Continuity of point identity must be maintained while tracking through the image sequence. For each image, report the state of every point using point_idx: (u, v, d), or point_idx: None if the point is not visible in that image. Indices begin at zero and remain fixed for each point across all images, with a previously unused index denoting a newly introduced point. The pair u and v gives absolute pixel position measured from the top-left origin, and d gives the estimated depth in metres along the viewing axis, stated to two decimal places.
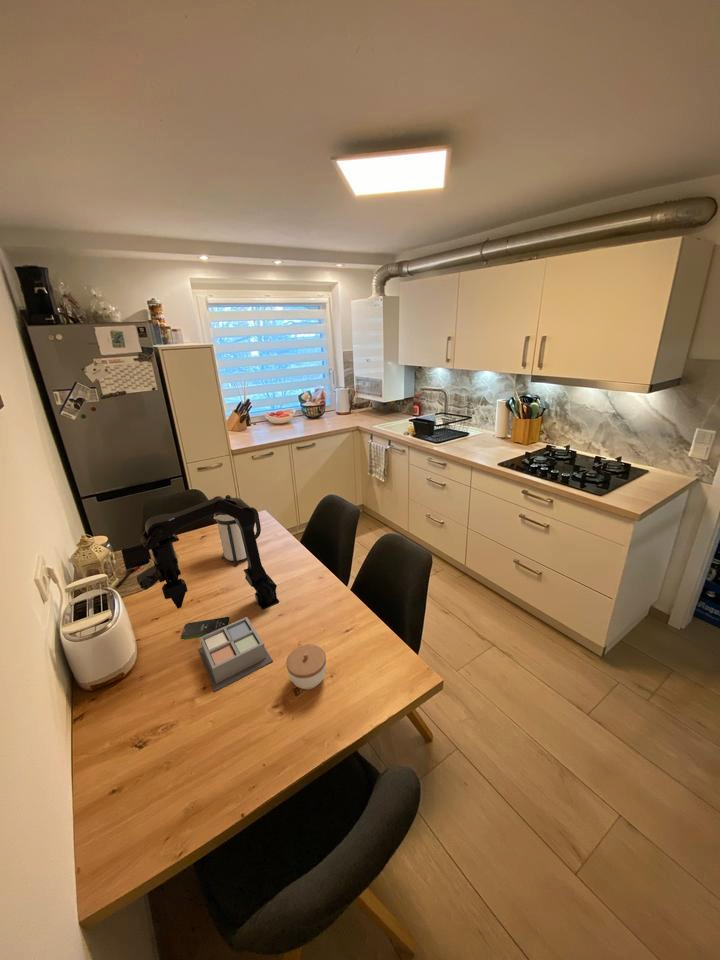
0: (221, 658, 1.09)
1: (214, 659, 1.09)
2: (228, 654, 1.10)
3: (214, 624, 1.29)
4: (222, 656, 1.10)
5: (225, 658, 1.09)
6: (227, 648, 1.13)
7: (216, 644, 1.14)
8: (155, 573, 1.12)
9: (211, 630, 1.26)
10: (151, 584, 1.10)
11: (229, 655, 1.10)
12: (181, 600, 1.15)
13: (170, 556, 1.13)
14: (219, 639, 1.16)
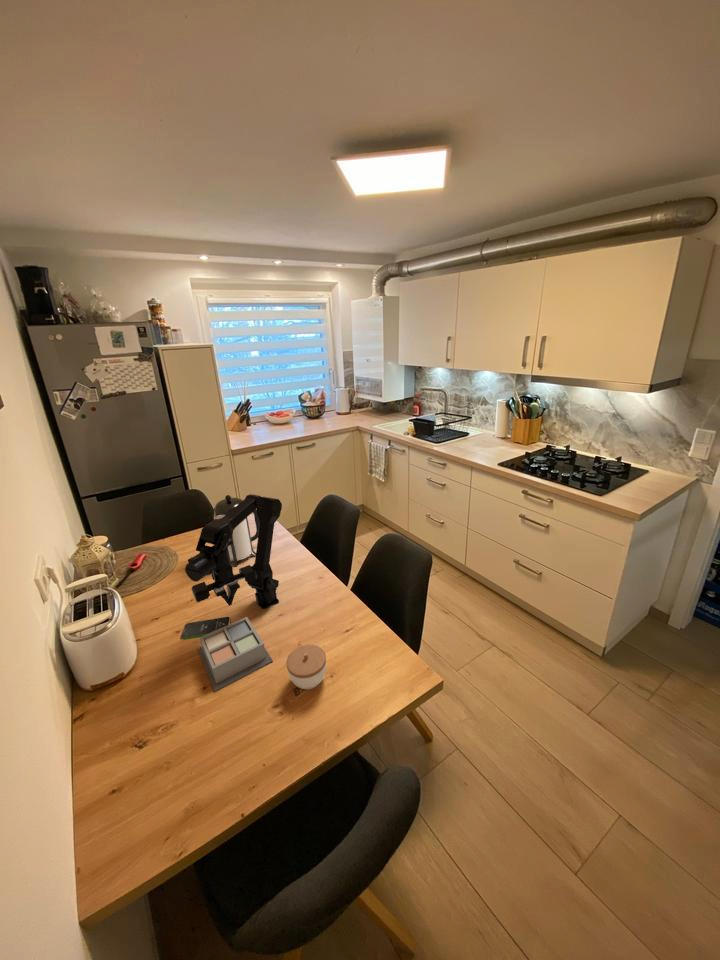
0: (221, 658, 1.09)
1: (214, 659, 1.09)
2: (228, 654, 1.10)
3: (214, 624, 1.29)
4: (222, 656, 1.10)
5: (225, 658, 1.09)
6: (227, 648, 1.13)
7: (216, 644, 1.14)
8: None
9: (211, 630, 1.26)
10: None
11: (229, 655, 1.10)
12: (225, 600, 1.20)
13: (229, 559, 1.16)
14: (219, 639, 1.16)
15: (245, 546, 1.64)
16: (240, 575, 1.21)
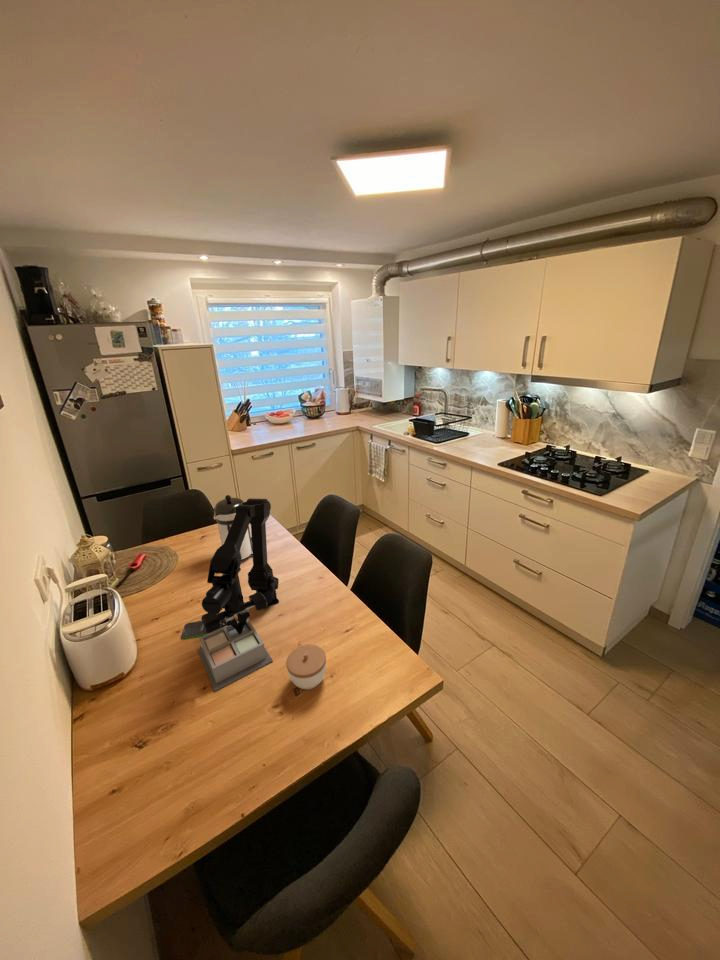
0: (221, 658, 1.09)
1: (214, 659, 1.09)
2: (228, 654, 1.10)
3: None
4: (222, 656, 1.10)
5: (225, 658, 1.09)
6: (227, 648, 1.13)
7: (216, 644, 1.14)
8: None
9: None
10: None
11: (229, 655, 1.10)
12: (235, 629, 1.17)
13: (240, 586, 1.14)
14: (219, 639, 1.16)
15: (245, 546, 1.64)
16: (250, 603, 1.19)
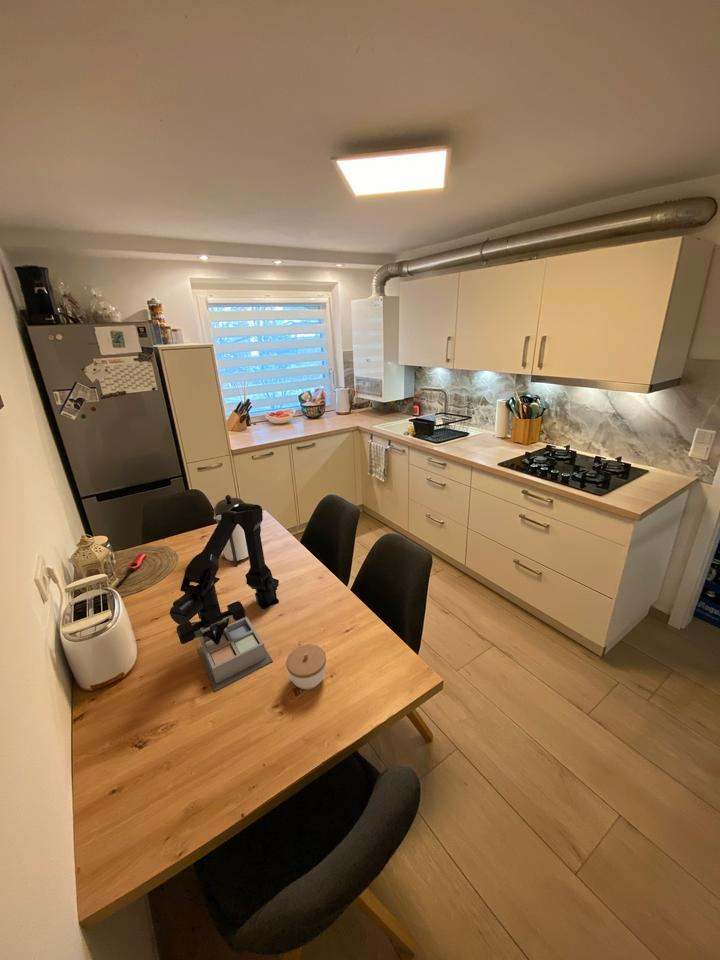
0: (221, 658, 1.09)
1: (214, 659, 1.09)
2: (228, 654, 1.10)
3: None
4: (222, 656, 1.10)
5: (225, 658, 1.09)
6: (227, 648, 1.13)
7: None
8: None
9: None
10: None
11: (229, 655, 1.10)
12: (212, 640, 1.14)
13: (216, 597, 1.10)
14: (220, 641, 1.17)
15: (245, 546, 1.64)
16: (228, 613, 1.15)
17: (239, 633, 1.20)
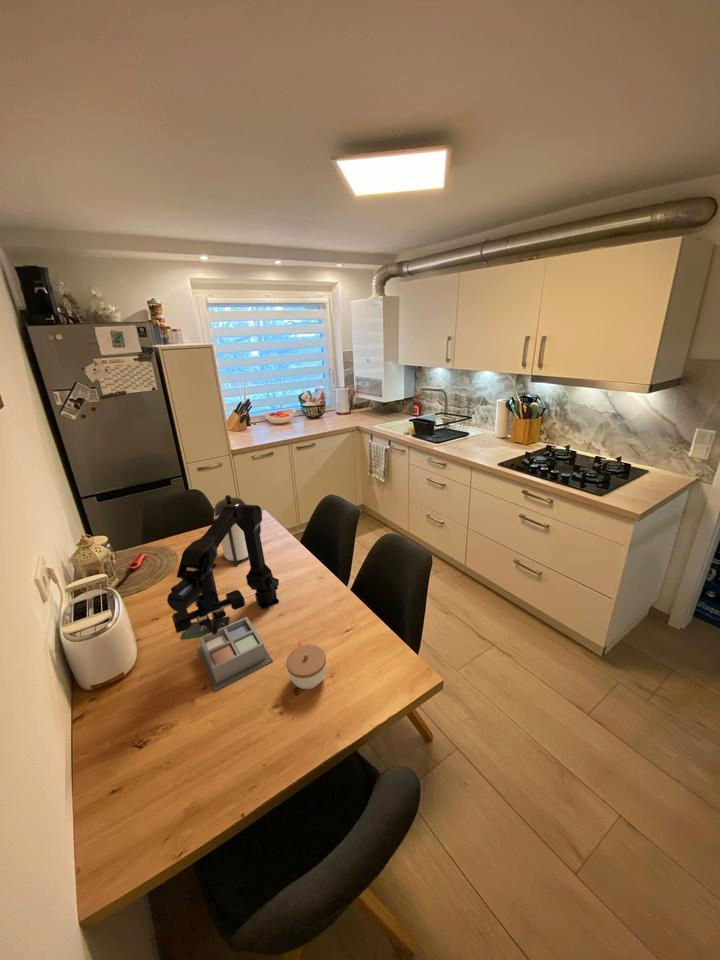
0: (221, 658, 1.09)
1: (214, 659, 1.09)
2: (228, 654, 1.10)
3: None
4: (222, 656, 1.10)
5: (225, 658, 1.09)
6: (227, 648, 1.13)
7: None
8: None
9: None
10: None
11: (229, 655, 1.10)
12: (209, 629, 1.09)
13: (214, 584, 1.06)
14: (220, 641, 1.17)
15: (245, 546, 1.64)
16: (226, 601, 1.10)
17: (239, 633, 1.20)
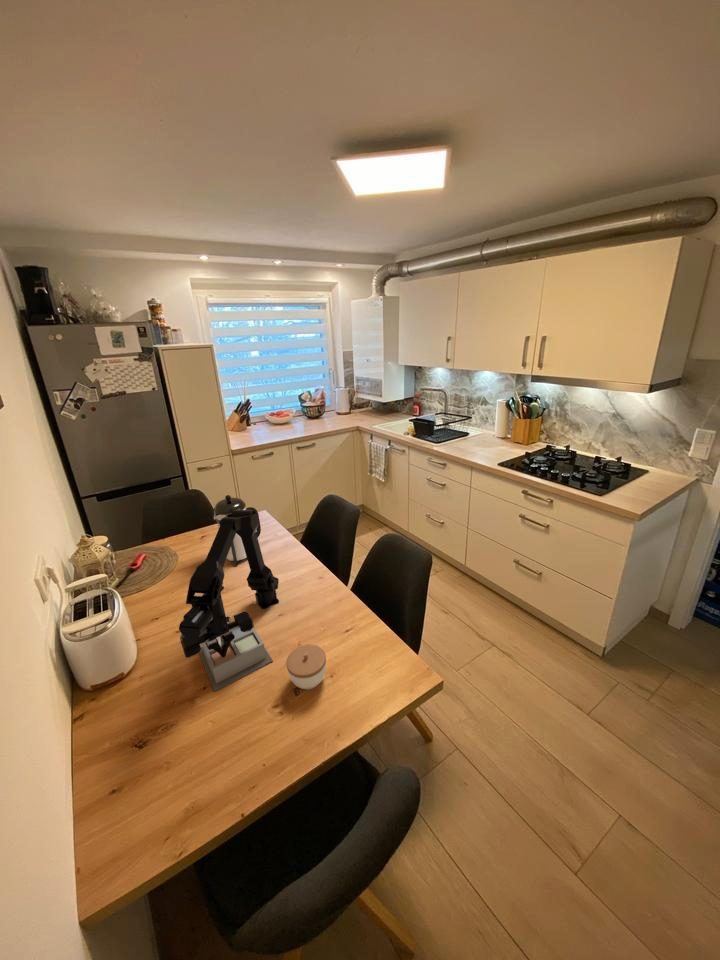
0: (221, 659, 1.09)
1: (214, 660, 1.09)
2: (228, 655, 1.10)
3: None
4: None
5: (225, 659, 1.09)
6: None
7: None
8: None
9: None
10: None
11: (229, 656, 1.10)
12: (218, 652, 1.08)
13: (223, 606, 1.05)
14: (220, 641, 1.17)
15: None
16: (235, 624, 1.09)
17: (239, 633, 1.20)
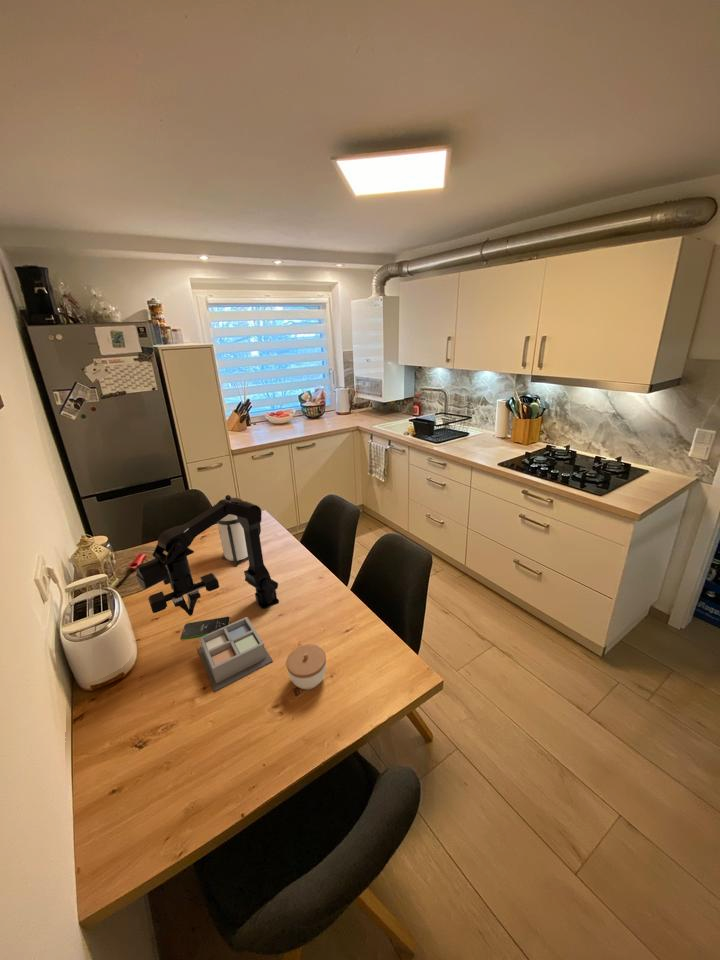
0: (221, 661, 1.10)
1: (215, 662, 1.09)
2: (228, 657, 1.11)
3: (214, 624, 1.29)
4: (223, 659, 1.10)
5: None
6: (228, 651, 1.13)
7: None
8: None
9: (211, 630, 1.26)
10: (164, 583, 1.15)
11: None
12: (185, 610, 1.15)
13: (187, 569, 1.11)
14: (220, 641, 1.17)
15: (245, 546, 1.64)
16: (201, 584, 1.16)
17: (239, 633, 1.20)
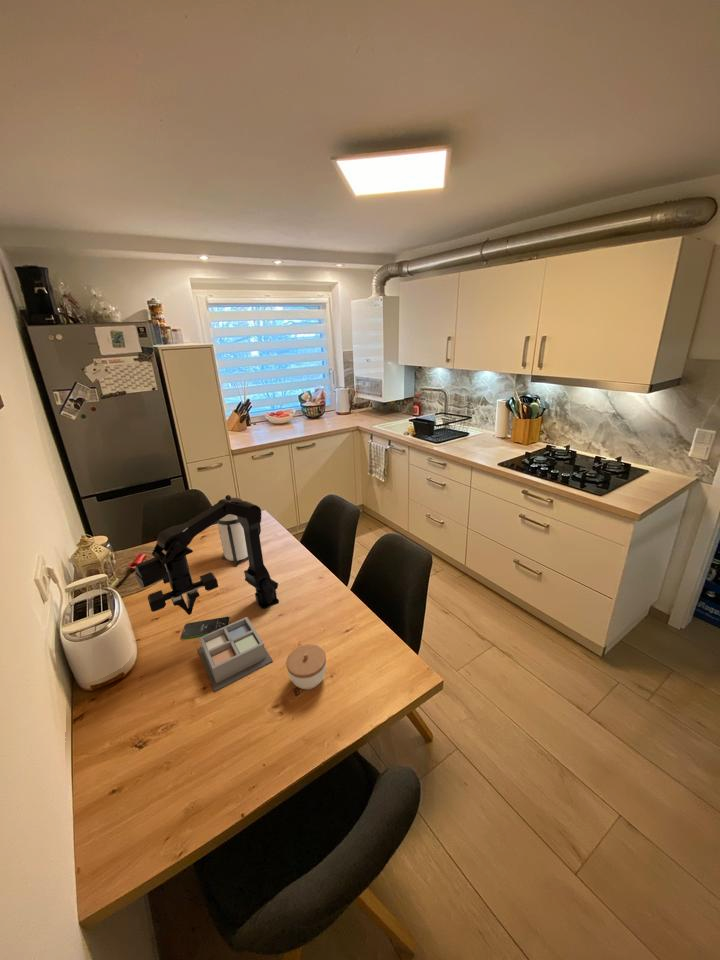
0: (221, 661, 1.10)
1: (215, 662, 1.09)
2: (228, 657, 1.11)
3: (214, 624, 1.29)
4: (223, 659, 1.10)
5: None
6: (228, 651, 1.13)
7: None
8: None
9: (211, 630, 1.27)
10: (163, 581, 1.16)
11: None
12: (184, 609, 1.15)
13: (185, 568, 1.11)
14: (220, 641, 1.17)
15: (245, 546, 1.64)
16: (200, 583, 1.16)
17: (239, 633, 1.20)
